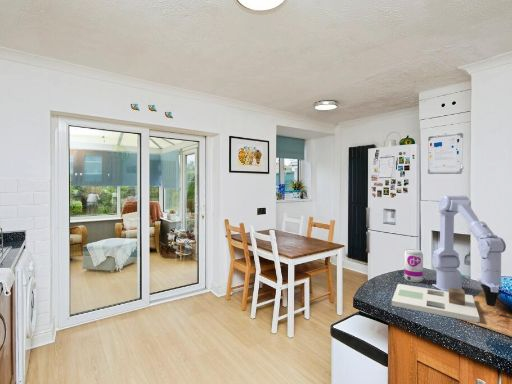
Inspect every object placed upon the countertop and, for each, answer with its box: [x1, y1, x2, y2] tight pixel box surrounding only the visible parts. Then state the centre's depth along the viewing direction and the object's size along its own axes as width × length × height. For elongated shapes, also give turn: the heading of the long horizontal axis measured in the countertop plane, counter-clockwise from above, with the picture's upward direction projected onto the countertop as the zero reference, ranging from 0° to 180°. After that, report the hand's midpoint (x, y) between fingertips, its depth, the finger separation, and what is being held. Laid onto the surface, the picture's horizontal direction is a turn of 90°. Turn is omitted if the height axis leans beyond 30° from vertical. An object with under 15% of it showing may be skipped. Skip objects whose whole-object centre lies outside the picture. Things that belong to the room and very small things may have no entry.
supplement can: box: [403, 248, 424, 283], centre depth 145 cm, size 8×8×15 cm
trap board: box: [391, 283, 480, 323], centre depth 118 cm, size 28×23×2 cm
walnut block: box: [448, 288, 465, 306], centre depth 113 cm, size 5×5×4 cm
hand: (490, 305), depth 108 cm, fingers closed
